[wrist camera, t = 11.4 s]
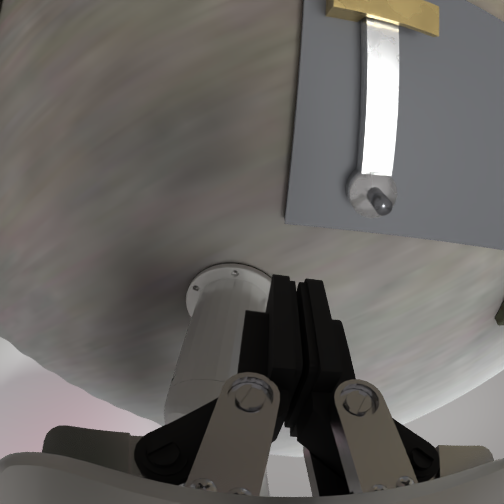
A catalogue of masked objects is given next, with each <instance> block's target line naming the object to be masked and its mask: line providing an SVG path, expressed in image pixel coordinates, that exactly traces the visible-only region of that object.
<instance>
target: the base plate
mask: <svg viewBox="0 0 504 504" xmlns="http://www.w3.org/2000/svg"><path fill="white" fill-rule="evenodd" d="M424 1H427V2H430V3H432V4H435V5H437V6H439V36H438V37H432V36H429V35H426V34H423V33H421V32H418V31H415V30H412V29H409V28H406V27H403V26H399V25H398V27H399V96H398V114H397V128H396V140H395V150H394V159H393V168H392V176H390V177H391V178H392V179H393V180H394V182H395V184H396V187H397V199H396V202H395V204H394V206H393V208H392V211H391V212H390V213H389V214H388V215H385V216H381V217H378V218H367V217H364V216H362V215H360V214H359V213H357V212H356V211H355V209H354V208H353V206H352V204H351V203H350V201H349V199H348V197H347V194H346V184H347V180H348V178H349V176H350V175H351V174H352V172H354V171H355V170H356V169H357V156H358V143H359V127H360V106H361V20H360V21H358V22H354V21H349V20H344V19H339V18H333V17H327V16H326V0H303V12H302V28H301V43H300V58H299V71H298V84H297V96H296V108H295V119H294V130H293V141H292V151H291V161H290V171H289V181H288V190H287V199H286V208H285V217H284V219H285V224H293V225H304V226H314V227H324V228H334V229H344V230H353V231H362V232H371V233H380V234H389V235H397V236H405V237H413V238H421V239H429V240H437V241H444V242H452V243H459V244H466V245H473V246H480V247H487V248H493V249H500V250H504V22H503V21H501V20H500V19H498V18H496V17H495V16H493V15H491V14H490V13H488V12H486V11H484V10H483V9H481V8H479V7H477V6H475V5H473V4H472V3H470V2H468V1H466V0H424Z"/></svg>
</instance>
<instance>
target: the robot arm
mask: <svg viewBox="0 0 504 504" xmlns="http://www.w3.org/2000/svg"><path fill="white" fill-rule="evenodd" d="M186 307H187V310H188V313H189V315H190V317H191V321H190V324H189V327H188V330H187V333H186V337H185V340H184V343H183V346H182V349H181V352H180V356H179V359H178V362H177V365H176V369H175V372H174V375H173V378H172V382H171V385H170V388H169V392H168V395H167V398H166V402H165V407H164V418H165V424H166V425H164V426H162V427H160V428H158V429H156V430H154V431H152V432H150V433H148V434H146V435H145V436H131V435H130V433H123V432H112V431H103V430H94V429H86V428H80V427H72V426H57V427H55V428H53V429H51V430H50V431H49V432H48V433H47V435H46V437H45V440H44V444H43V450H42V453H41V452H40V453H39V452H21V453H14V454H9V455H7V456H5V457H4V458H2V459H1V460H0V504H504V458H503V459H498V460H495V461H494V459H493V456H492V454H491V452H490V451H489V449H487V448H486V447H483V446H448V445H447V446H446V445H438V446H437V447H436V448H434V447H433V446H432V445H431V444H430V443H429V442H427V441H426V440H424V439H423V438H421V437H420V436H418V435H417V434H415V433H413V432H412V431H411V430H409V429H408V428H406V427H405V426H403V425H402V424H400V423H399V422H397V421H396V420H394V419H393V418H392V416H391V414H390V412H389V409H388V407H387V405H386V402H385V400H384V398H383V396H382V394H381V393H380V391H379V390H378V389H377V388H376V387H375V386H374V385H372V384H370V383H369V382H367V381H363V380H356V378H355V374H354V369H353V365H352V361H351V357H350V352H349V348H348V344H347V340H346V336H345V332H344V328H343V325H342V322H341V321H340V320H332V318H331V314H330V310H329V305H328V301H327V297H326V293H325V289H324V284H323V281H322V280H314V279H305V281H304V282H299V284H298V288H297V292H296V285H295V281H290V278H289V276H282V275H274V274H273V275H272V279H271V278H270V277H269V276H267V275H266V274H265V273H263V272H261V271H259V270H257V269H255V268H253V267H250V266H246V265H242V264H234V263H232V264H220V265H215V266H212V267H210V268H207V269H205V270H203V271H202V272H200V273H199V274H198V275H197V276H196V277H195V278H194V279H193V280H192V282H191V284H190V285H189V288H188V291H187V294H186ZM283 423H284V425H285V427H289V428H290V436H292V437H297V441H298V442H299V443H301V444H302V445H303V446H304V447H303V453H304V458H305V463H306V467H307V472H308V477H309V481H310V486H311V491H312V496H313V497H270V494H269V487H268V479H267V469H266V465H267V461H268V456H269V451H270V447H271V443H272V442H273V441H275V440H276V438H277V436H278V434H279V432H280V429H281V427H282V425H283Z"/></svg>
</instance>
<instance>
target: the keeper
mask: <svg viewBox="0 0 504 504" xmlns="http://www.w3.org/2000/svg"><path fill="white" fill-rule="evenodd" d="M326 16H327V17H333V18H339V19H344V20H349V21H354V22H358V21H360V20H361V19H363V18H364V17H365V16H366V17H370V18H374V19H378V20H382V21H386V22H389V23H393V24H396V25H399V26H403V27H406V28H409V29H412V30H415V31H418V32H421V33H423V34H426V35H429V36H432V37H438V36H439V6H437V5H435V4H432V3H430V2H427V1H424V0H326Z"/></svg>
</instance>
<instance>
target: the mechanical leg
mask: <svg viewBox="0 0 504 504" xmlns="http://www.w3.org/2000/svg"><path fill="white" fill-rule="evenodd" d="M495 319H496V322H497V324H498V325H504V302H503V303H502V306H501V308H500V310H499V312H498V313H497V315H496V317H495Z"/></svg>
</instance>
